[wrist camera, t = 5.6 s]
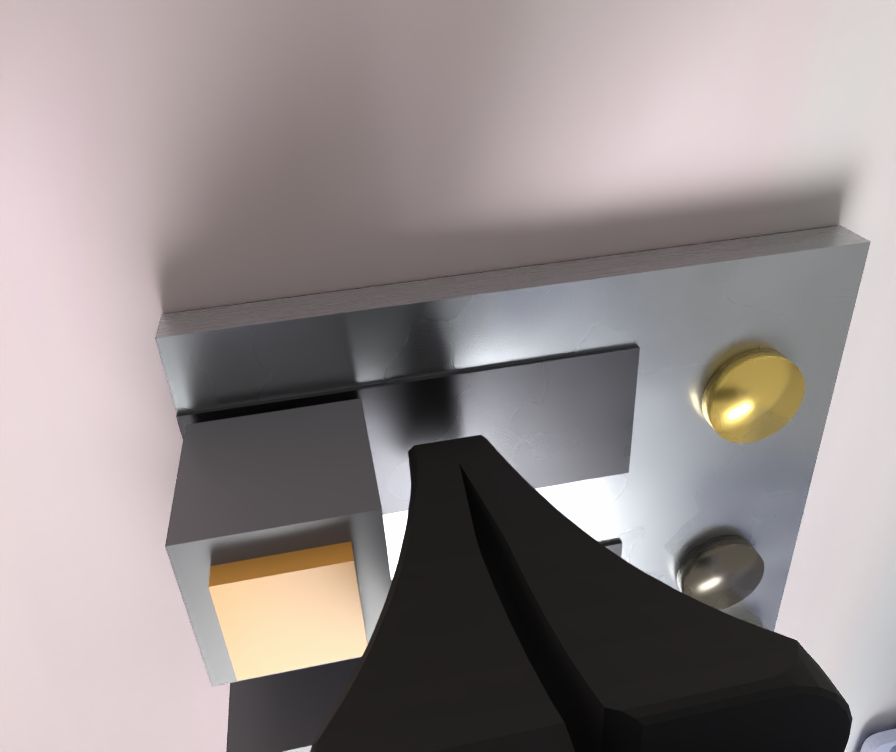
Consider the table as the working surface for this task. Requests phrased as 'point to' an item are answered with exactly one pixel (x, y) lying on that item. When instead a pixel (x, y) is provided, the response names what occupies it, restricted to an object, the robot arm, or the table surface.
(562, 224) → the table surface
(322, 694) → the block
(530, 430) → the panel
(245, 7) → the table surface
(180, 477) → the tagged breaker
